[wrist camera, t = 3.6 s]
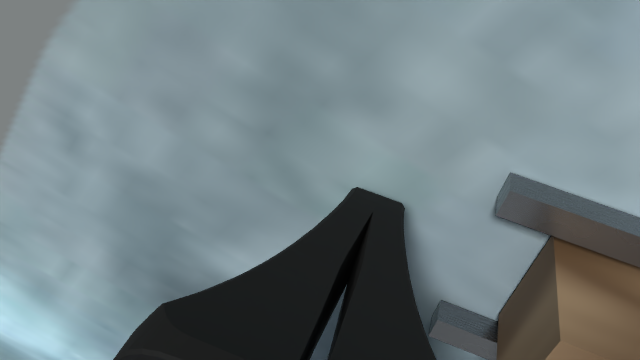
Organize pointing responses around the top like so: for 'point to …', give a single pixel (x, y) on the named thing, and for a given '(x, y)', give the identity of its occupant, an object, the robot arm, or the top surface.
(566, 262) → the key block
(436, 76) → the top surface
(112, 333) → the top surface
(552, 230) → the key guide
